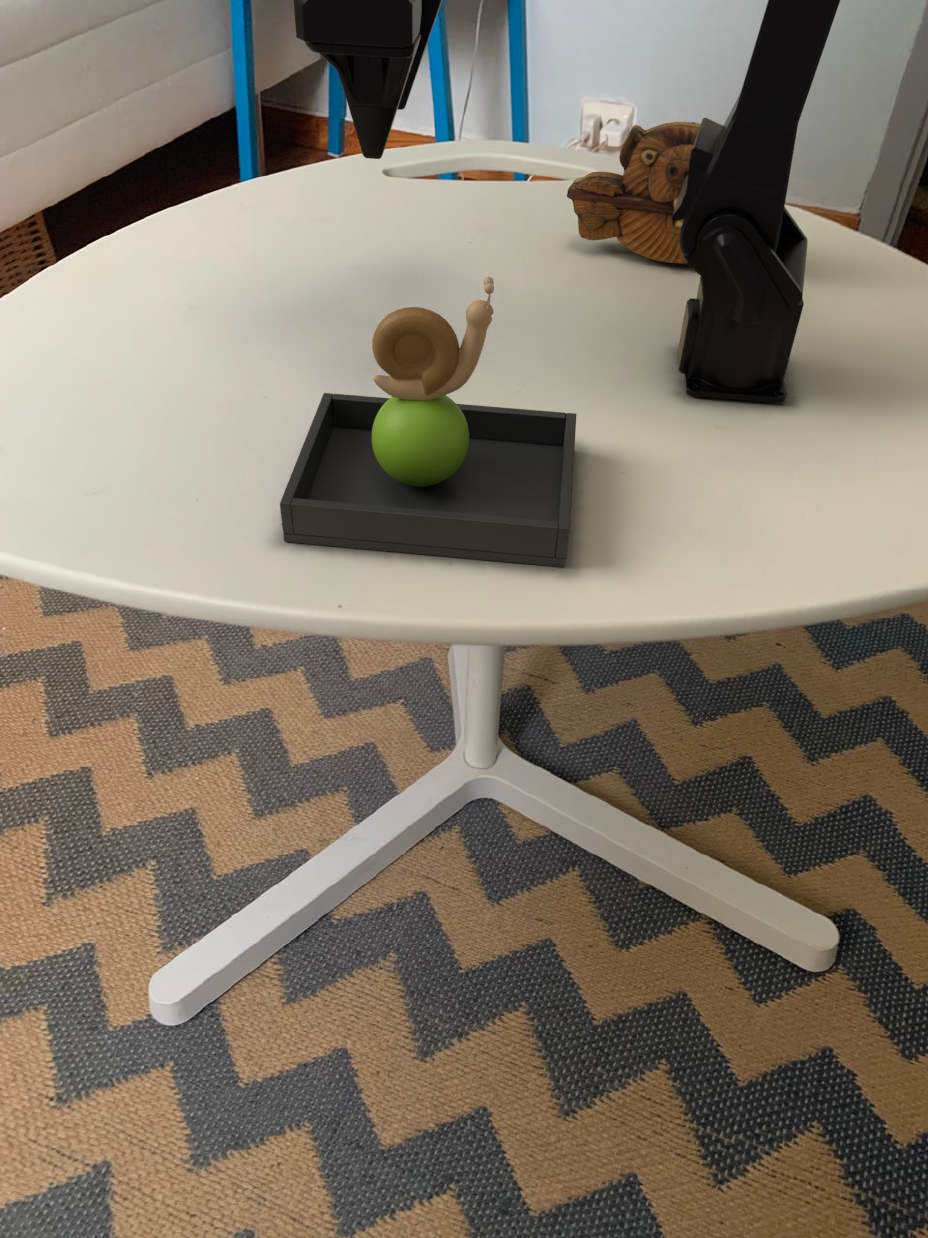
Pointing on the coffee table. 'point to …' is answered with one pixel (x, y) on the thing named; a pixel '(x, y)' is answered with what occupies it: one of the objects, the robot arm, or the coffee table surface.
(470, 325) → the snail figurine
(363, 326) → the coffee table surface
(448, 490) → the tray
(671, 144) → the wooden carving
